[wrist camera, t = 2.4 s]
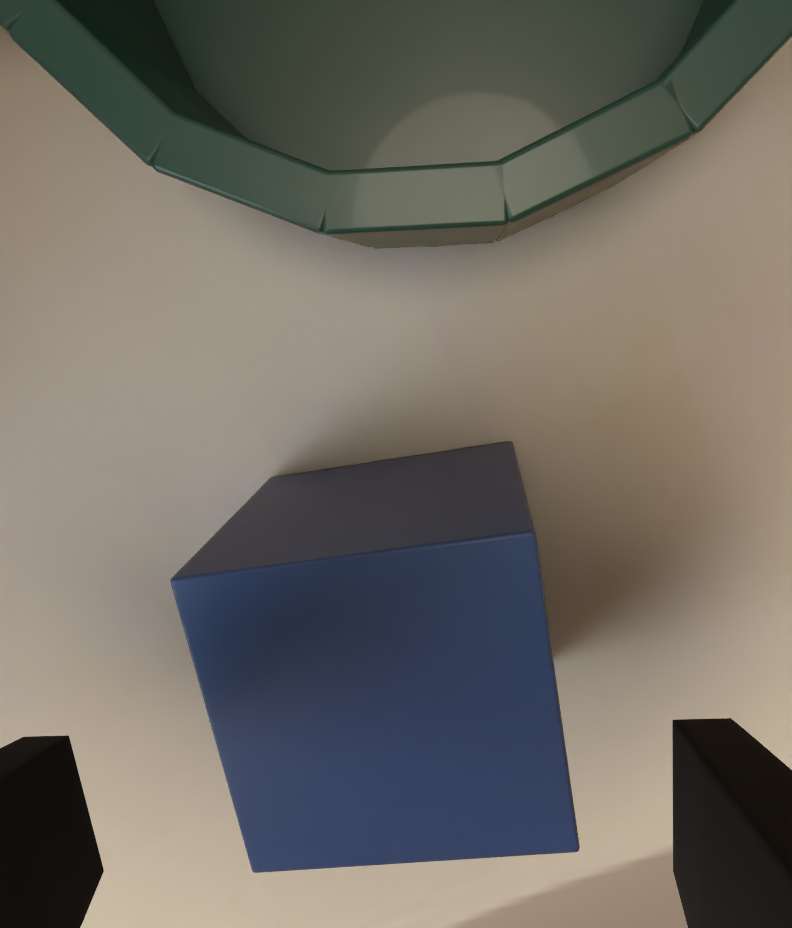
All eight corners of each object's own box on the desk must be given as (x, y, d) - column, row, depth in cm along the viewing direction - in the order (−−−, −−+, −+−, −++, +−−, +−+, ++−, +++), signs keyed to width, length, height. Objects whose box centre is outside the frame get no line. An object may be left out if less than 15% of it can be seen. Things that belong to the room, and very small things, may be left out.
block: (512, 440, 14) (535, 530, 9) (544, 665, 15) (580, 853, 10) (269, 477, 14) (168, 579, 9) (319, 688, 15) (251, 874, 11)
